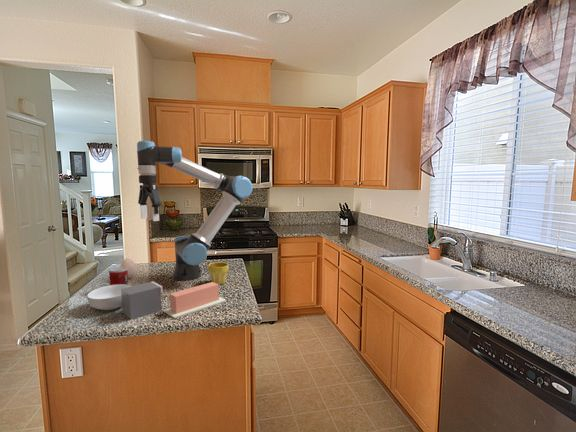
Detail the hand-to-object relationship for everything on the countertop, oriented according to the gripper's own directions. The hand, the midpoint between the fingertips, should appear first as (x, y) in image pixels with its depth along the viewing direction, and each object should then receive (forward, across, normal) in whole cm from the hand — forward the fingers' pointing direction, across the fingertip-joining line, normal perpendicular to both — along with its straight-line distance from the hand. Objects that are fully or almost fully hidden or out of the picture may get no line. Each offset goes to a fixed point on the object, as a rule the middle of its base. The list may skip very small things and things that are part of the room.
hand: (150, 219), depth 148 cm
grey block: (+35, +22, -14) cm, 43 cm away
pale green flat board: (+35, +33, +4) cm, 48 cm away
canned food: (+35, -11, -12) cm, 39 cm away
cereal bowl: (+35, +7, -21) cm, 41 cm away
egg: (+35, -28, -2) cm, 45 cm away
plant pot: (+35, +14, +28) cm, 47 cm away
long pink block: (+34, +33, +4) cm, 48 cm away
